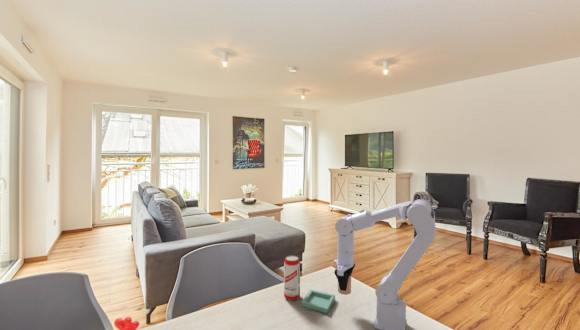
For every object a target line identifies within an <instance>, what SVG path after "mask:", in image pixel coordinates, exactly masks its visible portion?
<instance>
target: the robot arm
mask: <svg viewBox="0 0 580 330" xmlns="http://www.w3.org/2000/svg"><path fill="white" fill-rule="evenodd" d="M434 210H435V209H434V208H433V206H432V204H431V203H430V202H429V201H428V200H427V199H422V198H418V199H415V200H414V201H413V200H409V201H405V202H399V203H397V204H393V205H391V206H387V207H385V208H381V209H379V210H377V211H374V212H372V211H371V210H368V209H367V210H365V209H360V210H359V211H358V212H356V213H353V214H351V213H348V214H347V215H345V216H343V217H341V218H339V219H338V220H337V221H336V222H335V224H334V227H335V229H334V230H335V231H336V232H337V238H336V239H337V242H336V244H337V246H336V247H337V249H336V250H337V251H336V252H337V253H336V258H335V259H334V260H333V264H336V266H337V268H336V269H335V270H334V272H333V273H334V275H335V276H336V279H337V284H338V283H339V288H340V290H343V291H346V289H347V284H348V279H349V277H350V276H351V277H352V273H353V271H354V268H355V267H356V264H355V263H354V246H355V245H354V239H355V237H354V235H355V234H354V233H355V232H358V231H361V230H362V231H363V230H364V229H369V228H372V227H374V225H375V223H376V222H380V221H384V220H389V219H393V218H399V219H401V220H403V221H407V220H409V222H410V223H411V224H412V225H411V226H413V227H414V230H415V232H416V233H415V234H416V236H415V237H414V238H413V240H412V242H411V243H410V244H409V245H408V247H407V248H406V250H405V251H404V252H403V254H402V256H401V257H400V259H399V260H398V261H397V262H396V264H395V266H394V267H393V268H392V269H391V270H390V271H389V273H386V274H384V276H382V277H381V280H380V282H379V283H378V285H377V287H376V289H375V291H374V292H375V296H376V314H375V319H374V323H373V328H374V329H378V330H406V326H407V319H406V317H407V301H404V300H402V299H400V295H399V291H400V290H401V288H402V285H403V283H404V282H405V281H406V279H407V278H408V276H409V275H410V273H411V272H412V271H413V269H414V268H415V267H416V265H417V264H418V262H419V261H420V260H421V259H422V257H423V256H424V254H426V252H427V250H428V249H429V248H430V246H431V244H432V243H433V242H434V241H435V239H436V235H437V232H436V230H437V229H436V211H434Z"/></svg>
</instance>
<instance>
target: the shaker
mask: <svg viewBox="0 0 580 330" xmlns="http://www.w3.org/2000/svg"><path fill="white" fill-rule="evenodd" d="M337 291H338V293H339V294H341V295H347V296H348V295H350V294H351V293H352V275H351V276H350V277H349V279H348V284H347V289H346V291H343V290H340V288H339V283H338V282H337Z"/></svg>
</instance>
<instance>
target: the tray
mask: <svg viewBox="0 0 580 330" xmlns="http://www.w3.org/2000/svg"><path fill="white" fill-rule="evenodd" d="M335 301H336V295H335V294H331V293H329V292H327V293H326V292H323V291H319V290H315V289H314V290H313V289H310V290H309V291H308V292H307V294H306V295H305V296H304V298H303V299H302V301H301V306H300V307H301V308H302V309H306V310H310V311H313V312H316V313H321V314H324V315H328V313H329V312H330V310H331V309H332V306H333V304H334V303H335Z"/></svg>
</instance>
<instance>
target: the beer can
mask: <svg viewBox="0 0 580 330" xmlns="http://www.w3.org/2000/svg"><path fill="white" fill-rule="evenodd" d="M283 269H284V270H283V297H285V299H286V300H287V301H291V302H292V301H297V300H298V299H299V298H300V297H301V296H300V295H301V294H300V293H301V263H300V259H299V257H298V256H297V255H294V254H293V255H288V256H286V257H285V260H284V261H283Z"/></svg>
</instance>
